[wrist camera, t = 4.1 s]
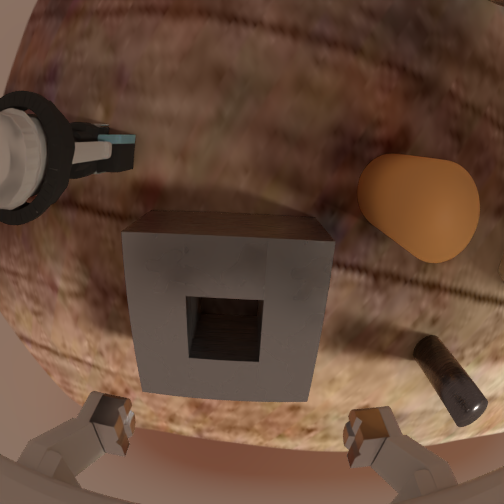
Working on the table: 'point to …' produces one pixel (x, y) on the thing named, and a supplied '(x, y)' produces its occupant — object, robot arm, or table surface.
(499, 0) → the vase
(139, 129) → the table surface
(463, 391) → the cylinder
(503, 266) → the valve
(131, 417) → the robot arm
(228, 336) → the bore block
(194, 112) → the table surface
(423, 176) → the orange rounded tapered piece
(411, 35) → the table surface
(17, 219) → the push button
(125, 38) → the table surface
